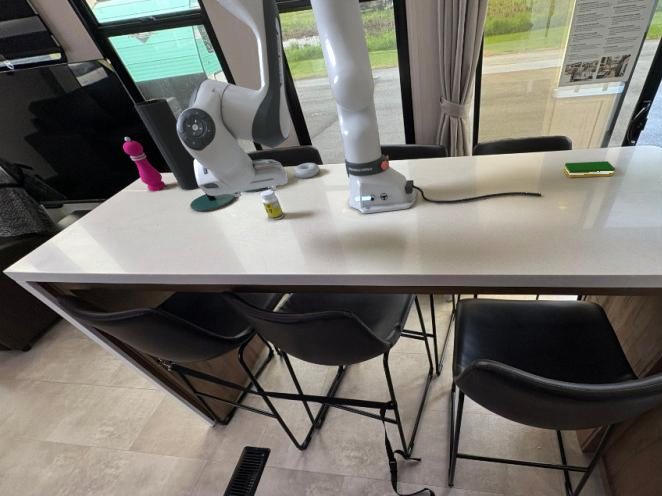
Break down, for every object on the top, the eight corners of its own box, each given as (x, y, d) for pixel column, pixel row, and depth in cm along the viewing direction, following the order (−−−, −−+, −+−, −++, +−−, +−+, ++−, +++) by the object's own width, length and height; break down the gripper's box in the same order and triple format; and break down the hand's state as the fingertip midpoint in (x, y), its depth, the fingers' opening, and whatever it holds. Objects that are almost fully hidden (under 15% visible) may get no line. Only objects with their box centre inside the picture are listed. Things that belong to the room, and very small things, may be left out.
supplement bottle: (266, 218, 105) (256, 194, 99) (277, 212, 108) (268, 188, 102) (275, 221, 103) (265, 196, 97) (286, 215, 106) (277, 190, 100)
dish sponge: (613, 176, 106) (615, 168, 104) (568, 178, 107) (570, 170, 106) (605, 167, 111) (607, 160, 109) (563, 169, 113) (564, 162, 111)
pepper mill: (144, 191, 133) (110, 139, 119) (159, 183, 138) (128, 133, 124) (156, 192, 131) (123, 140, 117) (171, 185, 135) (140, 134, 122)
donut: (316, 179, 126) (323, 168, 134) (313, 170, 124) (320, 160, 131) (292, 180, 128) (300, 170, 135) (289, 171, 125) (297, 161, 132)
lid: (242, 192, 123) (237, 179, 119) (221, 211, 112) (214, 198, 108) (206, 193, 125) (200, 180, 122) (182, 212, 114) (174, 199, 110)
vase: (192, 179, 138) (149, 99, 117) (212, 179, 136) (172, 98, 116) (176, 190, 131) (127, 106, 110) (197, 190, 129) (151, 105, 108)
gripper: (276, 147, 75) (291, 173, 89) (186, 161, 73) (216, 185, 87) (281, 173, 75) (295, 195, 88) (191, 187, 73) (220, 208, 87)
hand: (255, 191), depth 88 cm, fingers open, 8 cm apart
